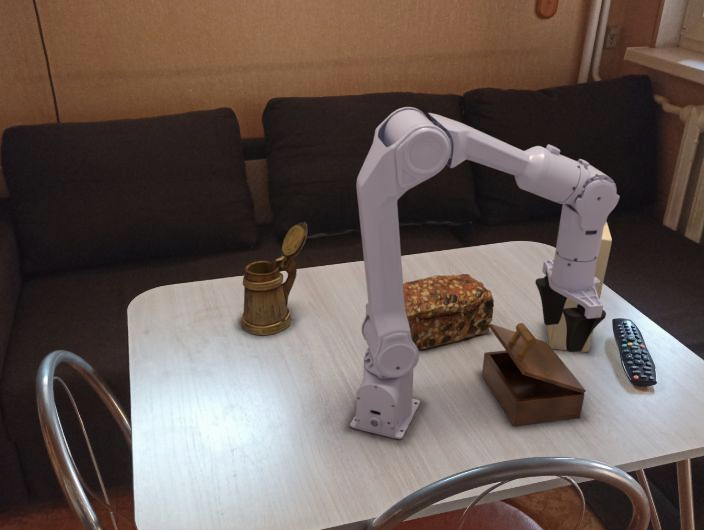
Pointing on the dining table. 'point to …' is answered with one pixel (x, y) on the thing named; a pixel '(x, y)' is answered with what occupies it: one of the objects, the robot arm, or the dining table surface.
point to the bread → (446, 309)
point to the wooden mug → (271, 287)
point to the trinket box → (528, 393)
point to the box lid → (535, 357)
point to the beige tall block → (560, 330)
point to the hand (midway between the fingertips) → (562, 336)
